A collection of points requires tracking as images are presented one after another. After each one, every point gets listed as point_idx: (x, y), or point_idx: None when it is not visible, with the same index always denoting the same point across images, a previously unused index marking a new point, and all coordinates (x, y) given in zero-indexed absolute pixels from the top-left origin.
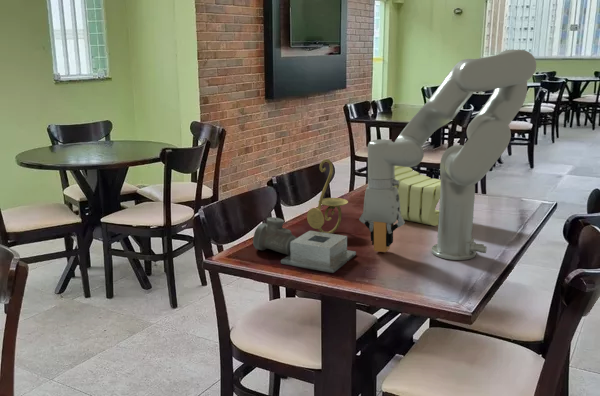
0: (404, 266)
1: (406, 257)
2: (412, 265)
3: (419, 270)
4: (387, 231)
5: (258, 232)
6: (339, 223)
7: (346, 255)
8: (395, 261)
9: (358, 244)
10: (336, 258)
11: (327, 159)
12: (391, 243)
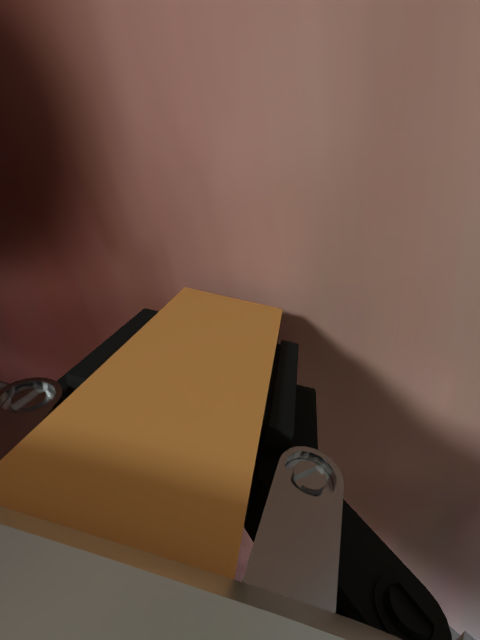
0: (392, 517)
1: (415, 392)
2: (443, 503)
3: (476, 554)
4: (248, 523)
5: None
6: None
7: None
8: (338, 462)
9: (15, 195)
10: None
11: None
12: (297, 345)
